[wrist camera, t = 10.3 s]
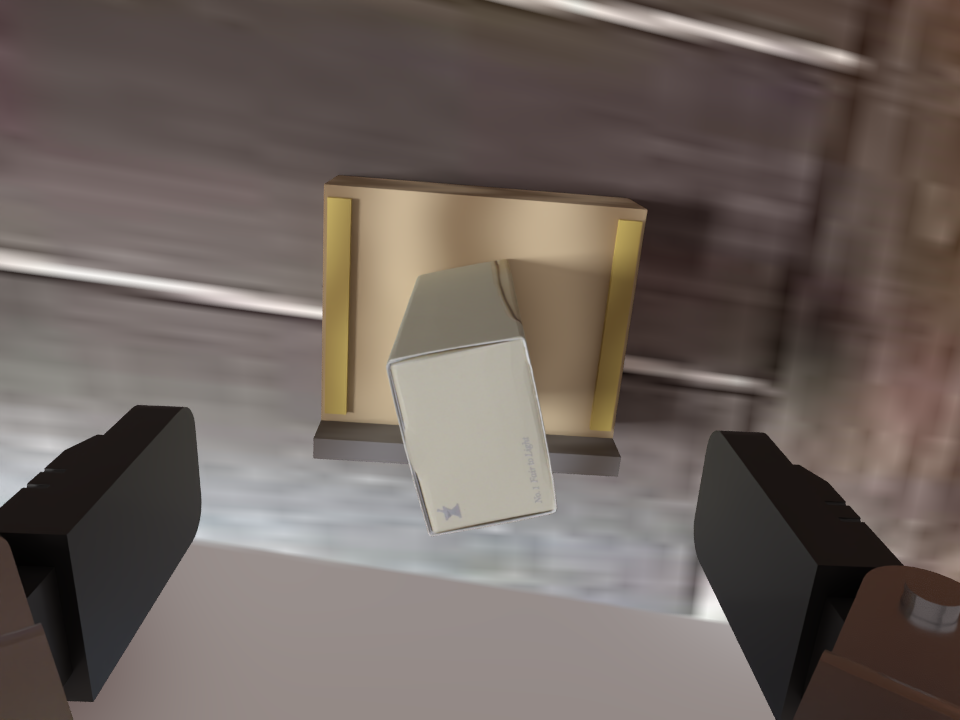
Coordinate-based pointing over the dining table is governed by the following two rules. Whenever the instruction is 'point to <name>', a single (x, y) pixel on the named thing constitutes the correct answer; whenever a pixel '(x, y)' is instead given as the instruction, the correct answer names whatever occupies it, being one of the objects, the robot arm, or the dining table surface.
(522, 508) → the skincare box
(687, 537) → the dining table surface
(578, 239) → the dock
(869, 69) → the dining table surface
